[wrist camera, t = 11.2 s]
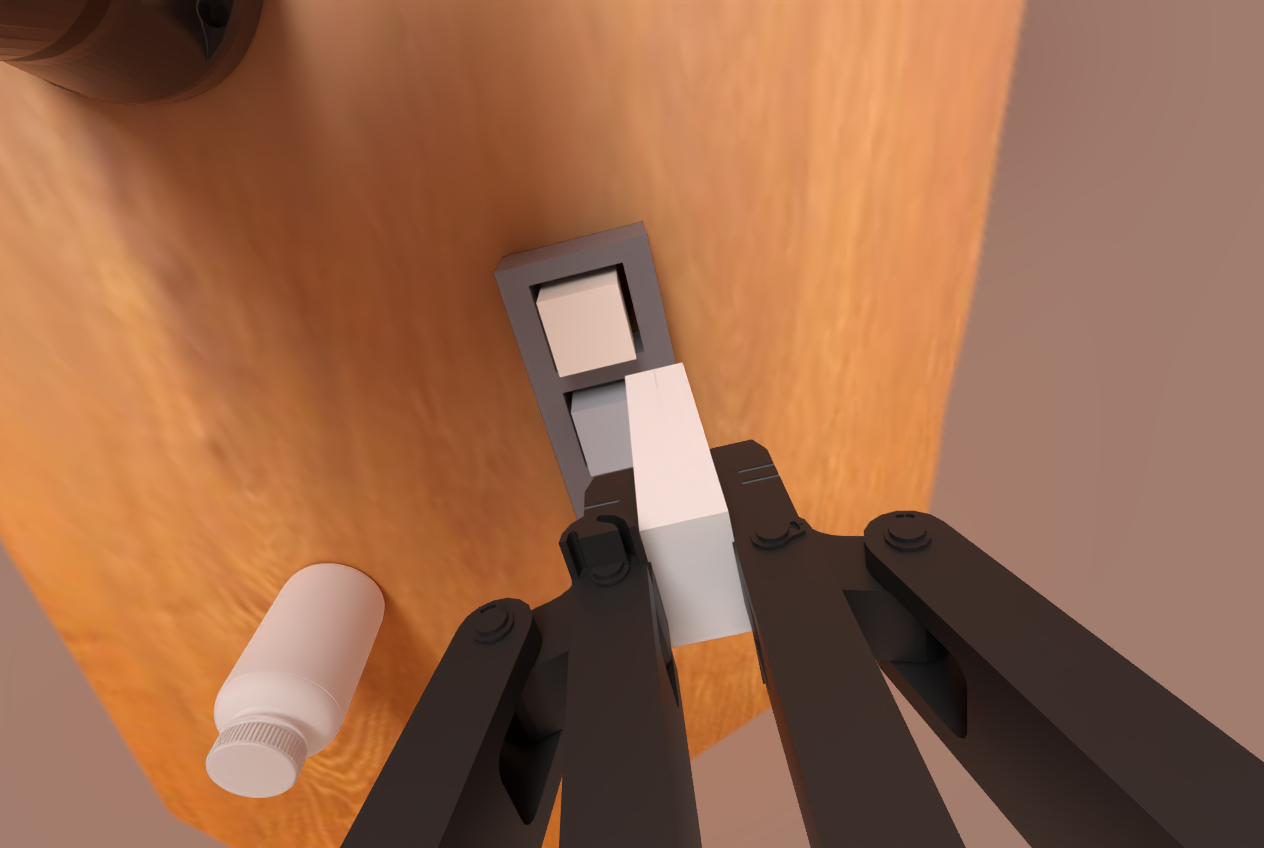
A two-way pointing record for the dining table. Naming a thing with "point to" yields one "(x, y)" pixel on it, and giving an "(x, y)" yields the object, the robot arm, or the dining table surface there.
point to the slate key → (603, 426)
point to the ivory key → (586, 321)
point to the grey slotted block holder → (519, 298)
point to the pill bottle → (294, 679)
